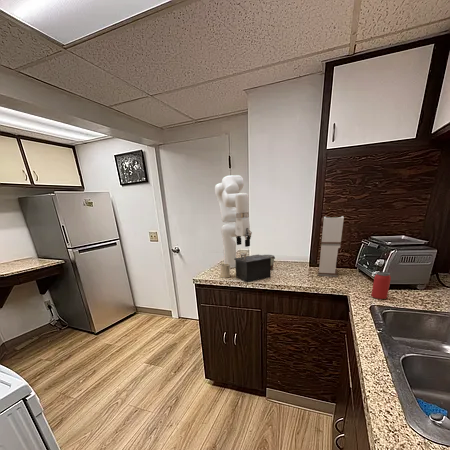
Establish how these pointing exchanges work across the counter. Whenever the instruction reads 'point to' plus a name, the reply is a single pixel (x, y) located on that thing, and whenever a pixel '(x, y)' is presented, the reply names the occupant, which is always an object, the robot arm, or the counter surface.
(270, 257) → the food container
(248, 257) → the black box lid
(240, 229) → the robot arm
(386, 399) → the counter surface
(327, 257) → the stepped grey pillar
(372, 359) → the counter surface
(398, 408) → the counter surface
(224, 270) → the cup
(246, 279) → the black lidded box
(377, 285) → the beer can
